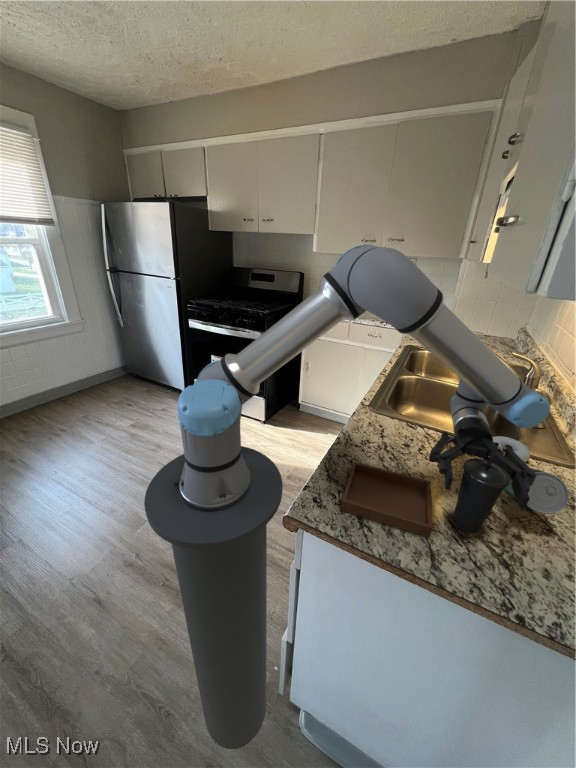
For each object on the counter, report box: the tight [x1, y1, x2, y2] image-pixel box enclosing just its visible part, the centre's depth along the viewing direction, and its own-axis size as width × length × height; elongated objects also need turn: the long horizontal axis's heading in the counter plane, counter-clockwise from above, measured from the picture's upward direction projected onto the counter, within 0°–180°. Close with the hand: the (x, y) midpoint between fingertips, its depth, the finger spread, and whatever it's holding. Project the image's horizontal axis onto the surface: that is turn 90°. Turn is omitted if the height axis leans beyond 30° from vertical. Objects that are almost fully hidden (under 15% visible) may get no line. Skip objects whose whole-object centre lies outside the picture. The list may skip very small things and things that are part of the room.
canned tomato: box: [502, 467, 570, 515], centre depth 66 cm, size 8×8×11 cm
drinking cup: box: [453, 442, 510, 534], centre depth 60 cm, size 8×8×20 cm
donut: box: [492, 435, 531, 463], centre depth 85 cm, size 10×4×10 cm
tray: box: [340, 461, 433, 539], centre depth 69 cm, size 18×14×3 cm
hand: (485, 493), depth 56 cm, fingers open, 11 cm apart
